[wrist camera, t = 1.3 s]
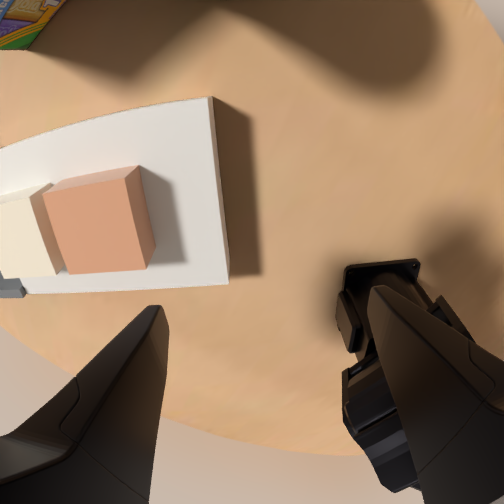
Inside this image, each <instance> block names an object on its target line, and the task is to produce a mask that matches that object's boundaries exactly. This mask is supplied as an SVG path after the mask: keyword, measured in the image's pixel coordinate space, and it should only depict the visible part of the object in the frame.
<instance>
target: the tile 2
mask: <svg viewBox="0 0 504 504" xmlns="http://www.w3.org/2000/svg"><path fill="white" fill-rule="evenodd" d="M42 195H43V199H44V202H45V206H46V209H47V212H48V216H49V219H50V222H51V225H52V228H53V231H54V234H55V237H56V240H57V243H58V246H59V249H60V251H61V254H62V257H63V260H64V262H65V265H66V267H67V270H68V272H69V275H74V274H89V273H104V272H118V271H133V270H146V269H147V267H148V265H149V262H150V260H151V258H152V255H153V253H154V251H155V249H156V244H155V240H154V236H153V231H152V227H151V222H150V218H149V213H148V209H147V204H146V199H145V194H144V189H143V184H142V178H141V173H140V168H139V165H134V166H128V167H123V168H117V169H111V170H106V171H101V172H95V173H90V174H86V175H81V176H76V177H71V178H67V179H63V180H61V181H60V182H58V183H57V184H55V185H54V186H53V187H51V188H50V189H48V190H47V191H46V192H44V193H43V194H42Z"/></svg>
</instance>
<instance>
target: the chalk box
mask: <svg viewBox="0 0 504 504" xmlns="http://www.w3.org/2000/svg"><path fill="white" fill-rule="evenodd" d="M66 1H67V0H0V50H26V49H27V48H28V47H29V46H30V44H31V43H32V42H33V40H34V39H35V38H36V36H37V35H38V34H39V33H40V31H41V30H42V29H43V27H44V26H45V25H46V24H47V22H48V21H49V20H50V19H51V18H52V17H53V16H54V14H55V13H56V12H57V11H58V10H59V9H60V7H61V6H62V5H63V4H64V3H65V2H66Z"/></svg>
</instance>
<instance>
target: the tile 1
mask: <svg viewBox="0 0 504 504" xmlns="http://www.w3.org/2000/svg"><path fill="white" fill-rule="evenodd" d="M50 188H51V184H50V182H49V183H45V184H41V185H37V186H33V187H29V188H26V189H22V190H18V191H14V192H11V193H7V194H4V195H0V271H1V273H2V276H3V278H4V279H10V278H27V277H43V276H57V274H58V273H59V272H60V270H61V269H62V268H63V266H64V265H65V262H64V260H63V257H62V254H61V251H60V249H59V246H58V243H57V240H56V237H55V234H54V231H53V228H52V225H51V222H50V219H49V216H48V212H47V209H46V206H45V202H44V199H43V195H42V194H43V193H44V192H46V191H47V190H48V189H50Z"/></svg>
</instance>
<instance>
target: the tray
mask: <svg viewBox="0 0 504 504" xmlns="http://www.w3.org/2000/svg"><path fill="white" fill-rule="evenodd" d="M26 294H27V293H26V291H25V289H24V287H23V285H22V282H21V280H20V278H10V279H4V278H3V276H2V273H1V271H0V298H24V296H25V295H26Z"/></svg>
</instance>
